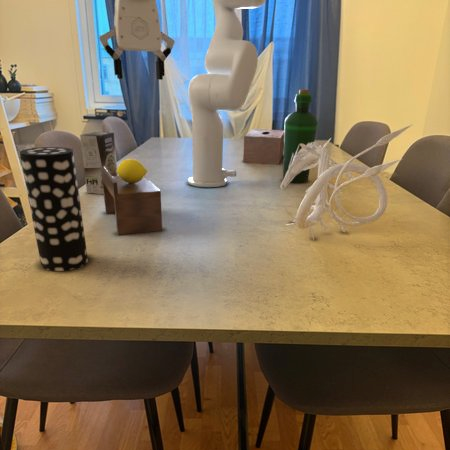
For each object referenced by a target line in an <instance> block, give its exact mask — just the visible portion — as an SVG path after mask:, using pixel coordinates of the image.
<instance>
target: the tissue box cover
mask: <svg viewBox="0 0 450 450" xmlns="http://www.w3.org/2000/svg"><path fill="white" fill-rule="evenodd" d="M242 157H243V159H242V160H243V161H242V163H251V164H267V165H279V164H280V163H281V160H282V157H284V129H265V128H252V129H251V130H250V131H248V132H247V133H246V134H245V135H244V136H243V156H242Z"/></svg>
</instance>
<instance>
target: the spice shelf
mask: <svg viewBox="0 0 450 450" xmlns="http://www.w3.org/2000/svg"><path fill="white" fill-rule="evenodd" d="M101 173H102V182H103V192H104V194H103V201H104V206H105V207H104V210H105V214H106V215H108V214H115V224H116V233H117V235H118V236H122V235H132V234H140V233H150V232H160V231H161V232H162V231H163V213H162V191H161V189H159V188H158V187H157V186H156V185H155V184H154V183H153V182H151V181H150V180H149V179H148V177H146V175H145V176H144V177H143V178H142V180H140V181H139V182H136V183H128V182H125V181H123V180H122V179H121V178H120V177H119V175H118V176H111V175H110V173H109V172H108V171H107V169H106V168H105V167H104V166H101Z"/></svg>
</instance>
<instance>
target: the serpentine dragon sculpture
mask: <svg viewBox="0 0 450 450" xmlns="http://www.w3.org/2000/svg"><path fill="white" fill-rule="evenodd" d="M411 126H413V123H412V124H409V125H407V126H405V127H403V128H400V129H398V130H395V131H393V132H390V133H388V134H386V135H384V136H382V137H381V138H380V139H378V140H377V142H376V143H375V144H373V145H372V146H370V147H368V148H366V149H365V150H363V151H361V152H360V153H357V154H356V155H354V156H353V157H351V158H350V159H349V160H347V162H341V163H338V162H336V161H335V160H334V159H332V158H330V157H335V155H333V154H330V152H329V150H328V148H327V147H328V145H329V143H330V142H331V139H332V137H330V138H329V139H328V140H327V141H326V142H325V143H324V144H323V145H322V144H319V143H318V142H316V141H315V142H311V143H309V144H307V145H304V144H302V143H301V144H299V145H300V146H301V147H302V149H300V151H299V152H298V153H297V151H298V148H299V146H298V148H297V151H296V153H295V155H294V158H293V160H292V158H291V161H292V163H291V161H290V164H289V168H288V171H287V172H286V174H285V177H284V179H283V178H282V180H281V181H282V182H281V184H280V186H279V188H280V189H282V190H284V189H285V188H287V187H288V185H289V184H291V183H290V182H291V181H292V180H293V178H294V177H295V176H296V175H297V174H299V173H300V172H301V171H303V170H304V171H305V170H307V169H310V170H311V169H312V168H316V166H317V178H316V180H314V182H313V184H312V185H311V186H309V187H308V188H306V190H305V192H304V193H305V194H304V197H303V199H302V200H301V202H300V204H299V206H298V209H297V211H296V214H295V215H294V214H293V213H292V212H290V211H288V210H287V209H286V208H284V211H285V212H286V213H287V214H288V215H289V216H290V217H292V218H293V220H292V223H288V224H287V223H286V226H293V225H296V227H297V228H298V229H300V230H307V229H308V230H309V232H310V235H311V237H312V240H313V241H314V240H315V236H314V233H313V229H312V227H313V226H314V225H316V224H317V223H318V222H320V225H321V226H322V227H323V228H324V230H325V231H326V232H327V233H329V228H328V227H327V226H326V225H327V224H326V223H325V221H324V220H323V219H322V216H323V215H324V213H325V212H327V213H328V215H329V217H330V218H331V219H333V220H334V221H335V222H336V225H338V226H339V228H340V231H342V232H343V233H346V229H345V227H352V228H353V227H361V226H365V225H368V224H371V223H373V222H376V221H377V220H379V219H380V218H381V217H382V216H383V215H384V213H385V212H386V210H387V207H388V194H387V189H386V187H385V185H384V183H383V181H382V179H381V178H380V177H379V174H381V173H383V172H384V171H385V170H387V169H389V168H390V167H392V166H394V165H395V164H397V163H398V162H400V161H402V160H403V158H400V159H395V160H392V161H388V162H384V163H382V164H379V165H374V166H371V167H367V166H366V165H363V164H360V163H356V162H353V161H354V160H355V159H357V158H359V157H361V156H362V155H364V154H366V153H367V152H369V151H371V150H372V149H374V148H376V147H380V146H385V145H387V144H389V143H390V142H391V141H392V140H394V139H395V138H397V137H398V136H400V135H401V134H402V133H404V132H405V131H406V130H408V129H409V128H410V127H411ZM312 143H313V144H312ZM296 154H297V155H296ZM292 157H293V154H292ZM309 164H310V165H309ZM330 164H331V165H330ZM351 173H355V174H358V175H359V176H356V177H354V176H353V175H352V174H351ZM343 174H344V175H346V176H347V177H348V178H349V180H347V181H345V182H342V183H341V184H339V183H340V180H341V178H342V175H343ZM336 176H337V177H336ZM335 177H336V180H335V183H334V184H332V183H331V182H330V181H331V180H332V179H334V178H335ZM362 178H366V179H368V180H369V181H370V182H371V183H372V184H373V186H374V187H375V189H376V191H377V194H378V198H379V204H378V205H379V206H378V208H377V210H376V211H375V212H374V213H373V214H372V215H371V214H370V215H369V216H361V217H357V216H354V215H352V214H350V213H348V212H347V211H346V210H345V209H344V208H343V206H342V204H341V202H340V199H339V193H340V194H342V195H343V194H344V192H343V191H342V190H341V188H343V187H344V186H346V185H348V184H351V183H354V182H356V181H358V180H360V179H362ZM329 187H330V189H332V190H333V192H332V193H331V196H330V199H329V193H328V191H329V190H328V189H329ZM333 200H335V203H336V207H337V208H338V210H339V211H340V213H341V214H342V215H344V216H345V217H346V218H348V219H350V220H351V221H354V222H346V221H344V220H343V219H342V217H341V216H340V215H339V214H337V212H335V211H334V210H333ZM327 205H328V207H327ZM310 212H311V214H310V215H309V213H310Z"/></svg>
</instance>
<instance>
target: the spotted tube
mask: <svg viewBox="0 0 450 450" xmlns="http://www.w3.org/2000/svg"><path fill="white" fill-rule="evenodd" d="M19 156H20V162H21V166H22V173H23V177H24V178H23V179H24V182H25V187H26V188H25V189H26V193H27V197H28V203H29V208H30V213H31V220H32V225H33V229H34V235H35V240H36V246H37V251H38V256H39V261H40V265H41V267H42V268H43V269H45V270H47V271H51V272H64V271H65V272H67V271H72V270H76V269H79V268H81V267H83V266H85V265H86V264H87V263H88V261H89V258H88V251H87V250H88V249H87V243H86V236H85V228H84V221H83V214H82V213H83V212H82V208H81V199H80V198H81V197H80V192H79V183H78V177H77V169H76V162H75V154H74V149H72V148H70V147H61V146H43V147H41V146H40V147H31V148H25V149H21V150H20V151H19Z"/></svg>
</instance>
